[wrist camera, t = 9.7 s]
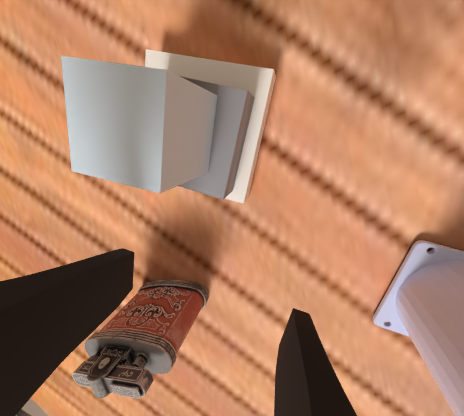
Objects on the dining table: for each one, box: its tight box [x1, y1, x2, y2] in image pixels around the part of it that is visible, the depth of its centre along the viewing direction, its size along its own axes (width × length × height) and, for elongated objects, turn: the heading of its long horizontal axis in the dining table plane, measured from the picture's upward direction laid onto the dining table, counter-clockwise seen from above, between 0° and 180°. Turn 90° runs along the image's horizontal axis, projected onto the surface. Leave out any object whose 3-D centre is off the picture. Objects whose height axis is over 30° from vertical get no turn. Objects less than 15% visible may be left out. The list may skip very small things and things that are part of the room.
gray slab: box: [178, 76, 255, 199], centre depth 15 cm, size 6×6×2 cm
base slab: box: [145, 49, 276, 204], centre depth 17 cm, size 9×9×2 cm
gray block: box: [61, 56, 218, 193], centre depth 11 cm, size 4×4×6 cm
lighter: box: [72, 280, 208, 398], centre depth 19 cm, size 8×3×10 cm, turn 101°
